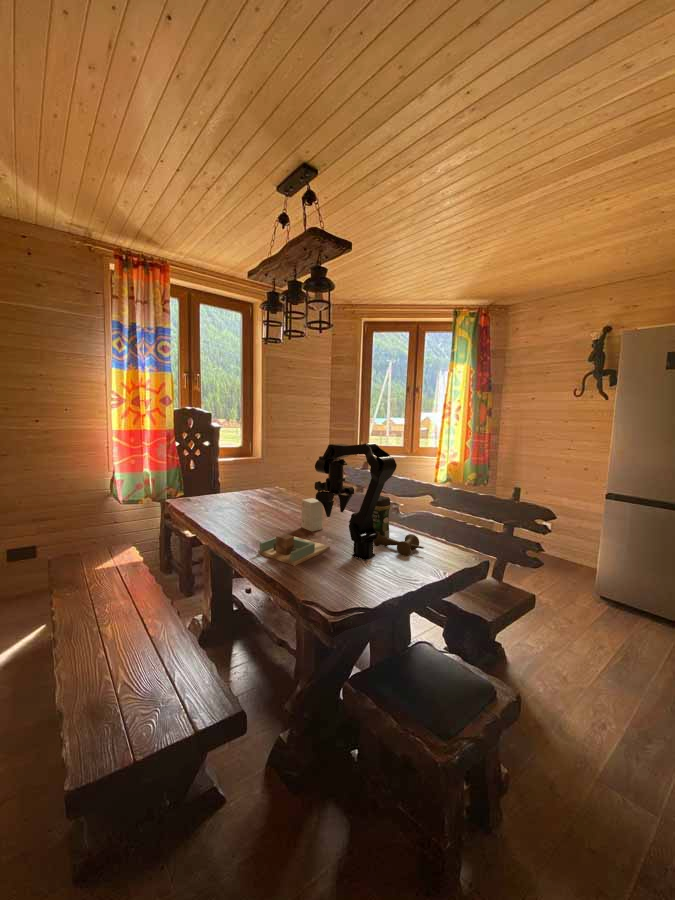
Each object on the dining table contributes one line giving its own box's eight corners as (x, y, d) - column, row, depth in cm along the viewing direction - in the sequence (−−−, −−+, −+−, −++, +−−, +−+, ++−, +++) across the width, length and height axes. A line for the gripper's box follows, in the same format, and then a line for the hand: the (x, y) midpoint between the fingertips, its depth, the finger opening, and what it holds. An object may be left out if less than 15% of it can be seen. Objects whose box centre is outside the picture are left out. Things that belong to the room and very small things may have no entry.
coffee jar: (362, 538, 157) (363, 494, 155) (374, 534, 163) (375, 492, 161) (380, 543, 150) (382, 498, 148) (392, 539, 156) (393, 495, 154)
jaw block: (293, 552, 136) (293, 536, 135) (286, 555, 133) (286, 539, 132) (283, 549, 139) (283, 533, 138) (276, 552, 135) (276, 536, 135)
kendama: (380, 542, 153) (428, 551, 143) (370, 550, 145) (419, 560, 135) (380, 528, 153) (428, 536, 142) (370, 535, 145) (419, 544, 134)
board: (329, 549, 143) (329, 539, 143) (294, 565, 127) (294, 555, 127) (294, 539, 153) (294, 530, 153) (258, 553, 137) (258, 543, 137)
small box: (322, 529, 168) (323, 501, 166) (311, 532, 164) (311, 502, 162) (312, 525, 174) (312, 497, 173) (301, 527, 170) (301, 499, 169)
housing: (314, 551, 137) (314, 543, 136) (293, 561, 127) (293, 552, 127) (282, 542, 146) (282, 534, 146) (259, 550, 137) (259, 542, 136)
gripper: (333, 470, 159) (332, 506, 160) (304, 476, 144) (304, 515, 145) (355, 473, 152) (354, 511, 154) (328, 479, 137) (327, 521, 139)
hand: (335, 514), depth 148 cm, fingers open, 9 cm apart
